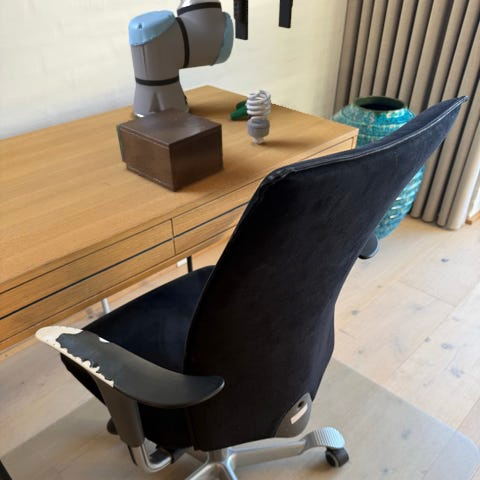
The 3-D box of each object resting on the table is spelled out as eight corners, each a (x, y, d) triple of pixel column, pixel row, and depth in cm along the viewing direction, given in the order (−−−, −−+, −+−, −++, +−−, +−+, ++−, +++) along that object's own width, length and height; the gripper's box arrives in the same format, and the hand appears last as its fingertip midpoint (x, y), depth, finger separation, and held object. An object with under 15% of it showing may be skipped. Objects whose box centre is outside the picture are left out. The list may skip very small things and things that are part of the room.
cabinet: (126, 169, 104) (118, 124, 98) (176, 150, 112) (171, 106, 105) (173, 192, 96) (168, 144, 90) (223, 169, 104) (221, 124, 97)
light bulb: (259, 137, 117) (260, 85, 109) (274, 144, 114) (276, 91, 106) (241, 143, 115) (241, 90, 107) (256, 150, 111) (257, 96, 103)
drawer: (109, 155, 108) (102, 119, 102) (154, 139, 115) (149, 104, 109) (164, 181, 98) (160, 143, 92) (210, 161, 105) (208, 125, 99)
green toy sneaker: (237, 128, 127) (253, 112, 124) (227, 117, 126) (243, 101, 122) (244, 116, 134) (259, 101, 130) (235, 105, 132) (250, 90, 129)
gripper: (235, -108, 73) (236, 47, 87) (326, -109, 87) (314, 25, 101) (200, -108, 77) (207, 41, 91) (294, -109, 90) (286, 20, 105)
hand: (263, 33), depth 96 cm, fingers open, 13 cm apart
